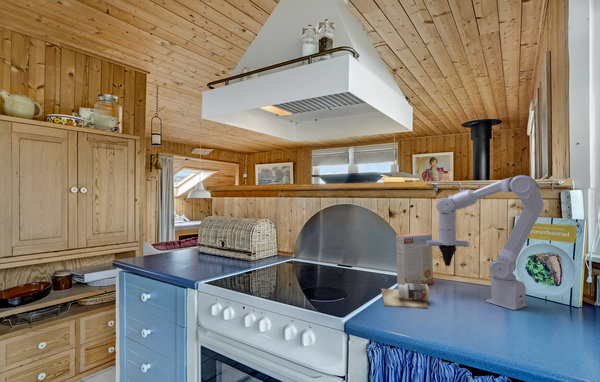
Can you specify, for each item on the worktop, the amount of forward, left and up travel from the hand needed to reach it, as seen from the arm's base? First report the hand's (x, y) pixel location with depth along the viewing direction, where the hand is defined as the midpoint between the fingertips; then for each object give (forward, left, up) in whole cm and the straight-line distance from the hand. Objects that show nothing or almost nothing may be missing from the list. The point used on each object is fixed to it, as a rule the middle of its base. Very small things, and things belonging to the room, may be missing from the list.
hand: (447, 265), depth 120 cm
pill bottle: (-3, +15, -7) cm, 17 cm away
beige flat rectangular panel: (+4, +20, -10) cm, 22 cm away
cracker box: (+14, +2, -11) cm, 18 cm away
